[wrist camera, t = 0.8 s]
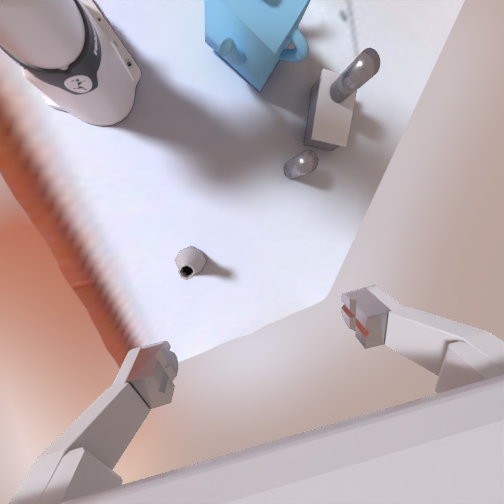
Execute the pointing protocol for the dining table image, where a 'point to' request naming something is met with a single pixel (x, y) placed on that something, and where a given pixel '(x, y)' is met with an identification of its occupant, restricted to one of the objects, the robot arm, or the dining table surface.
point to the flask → (190, 262)
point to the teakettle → (255, 34)
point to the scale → (328, 115)
